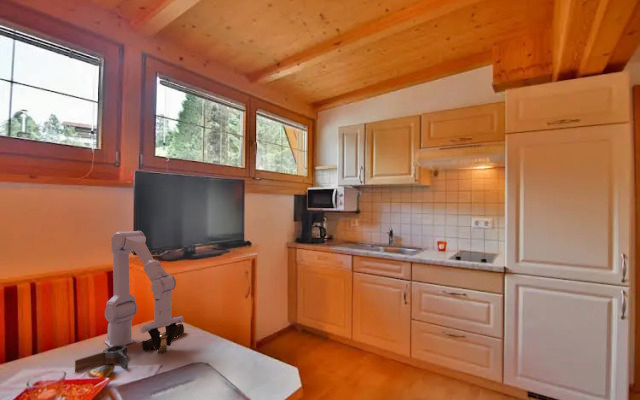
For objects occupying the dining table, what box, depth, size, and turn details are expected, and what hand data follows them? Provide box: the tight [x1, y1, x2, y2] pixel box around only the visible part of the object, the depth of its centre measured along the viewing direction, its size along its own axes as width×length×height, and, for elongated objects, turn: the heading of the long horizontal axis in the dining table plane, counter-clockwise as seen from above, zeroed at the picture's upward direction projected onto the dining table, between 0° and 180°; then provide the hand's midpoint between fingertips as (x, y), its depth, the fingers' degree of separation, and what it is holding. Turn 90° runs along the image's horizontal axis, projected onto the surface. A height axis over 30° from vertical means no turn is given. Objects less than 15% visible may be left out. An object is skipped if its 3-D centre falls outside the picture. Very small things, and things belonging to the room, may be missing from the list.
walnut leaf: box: [74, 350, 128, 373], centre depth 103 cm, size 6×14×4 cm, turn 141°
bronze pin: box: [157, 332, 168, 355], centre depth 111 cm, size 4×4×6 cm
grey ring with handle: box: [102, 345, 129, 370], centre depth 103 cm, size 14×6×4 cm, turn 50°
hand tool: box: [141, 323, 185, 352], centre depth 120 cm, size 19×4×5 cm, turn 158°
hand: (162, 347), depth 111 cm, fingers closed on bronze pin, 4 cm apart
